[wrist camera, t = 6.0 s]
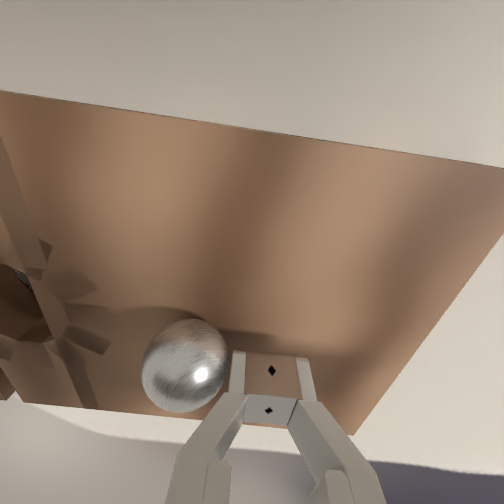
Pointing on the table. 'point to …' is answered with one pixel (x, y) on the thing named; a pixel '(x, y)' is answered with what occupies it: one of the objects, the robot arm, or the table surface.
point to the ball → (184, 365)
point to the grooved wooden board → (222, 251)
